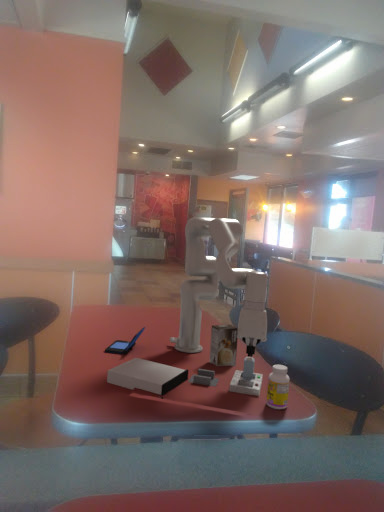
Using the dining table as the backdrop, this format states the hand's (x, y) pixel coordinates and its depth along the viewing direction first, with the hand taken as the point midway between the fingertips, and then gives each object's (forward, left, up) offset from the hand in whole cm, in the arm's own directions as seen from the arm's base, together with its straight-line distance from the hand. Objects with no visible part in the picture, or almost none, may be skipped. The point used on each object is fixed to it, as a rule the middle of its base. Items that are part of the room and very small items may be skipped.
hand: (250, 355), depth 151 cm
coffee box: (-12, +16, -11) cm, 23 cm away
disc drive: (-34, -13, -11) cm, 38 cm away
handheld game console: (-56, +18, -11) cm, 59 cm away
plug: (0, 0, -11) cm, 11 cm away
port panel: (0, -4, -11) cm, 11 cm away
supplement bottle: (+11, -15, -11) cm, 21 cm away
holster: (-15, -6, -11) cm, 19 cm away
